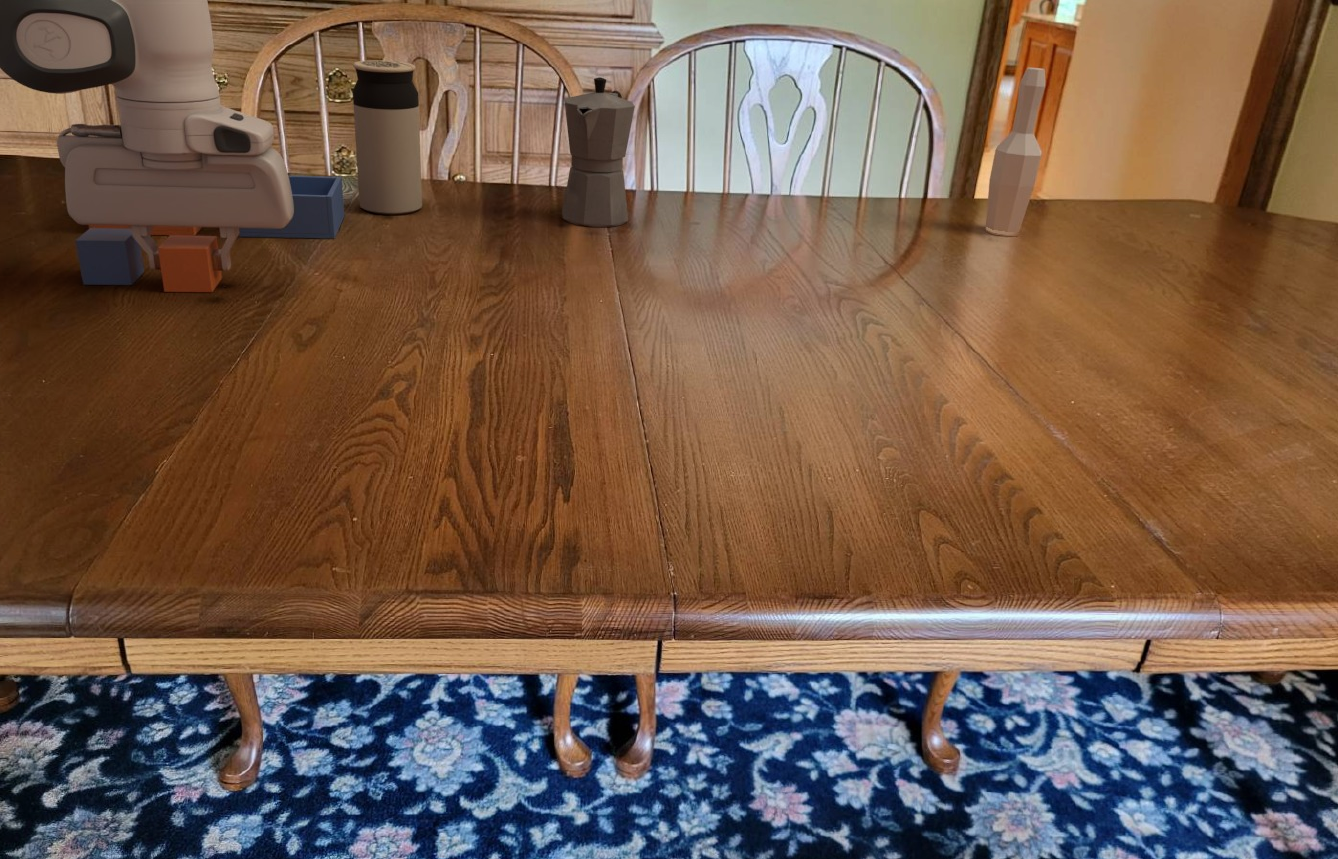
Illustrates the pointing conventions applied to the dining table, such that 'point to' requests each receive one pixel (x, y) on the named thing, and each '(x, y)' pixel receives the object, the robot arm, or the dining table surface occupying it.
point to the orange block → (188, 263)
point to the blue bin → (309, 210)
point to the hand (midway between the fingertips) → (191, 268)
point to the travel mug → (387, 137)
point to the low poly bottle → (1016, 160)
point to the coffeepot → (597, 157)
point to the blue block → (109, 257)
